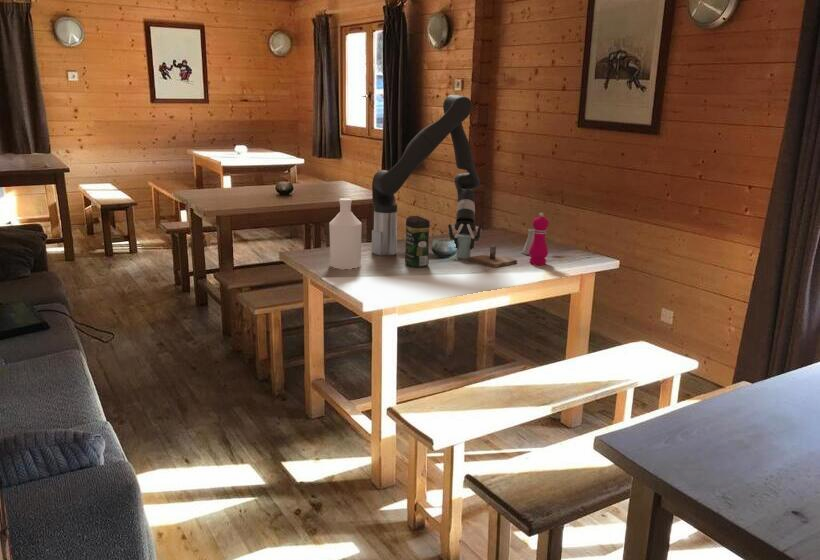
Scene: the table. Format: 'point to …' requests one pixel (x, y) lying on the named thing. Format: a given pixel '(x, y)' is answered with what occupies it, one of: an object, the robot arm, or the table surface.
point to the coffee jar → (417, 241)
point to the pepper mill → (539, 241)
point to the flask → (528, 242)
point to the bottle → (345, 238)
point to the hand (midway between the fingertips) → (463, 247)
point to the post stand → (492, 259)
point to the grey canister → (463, 246)
